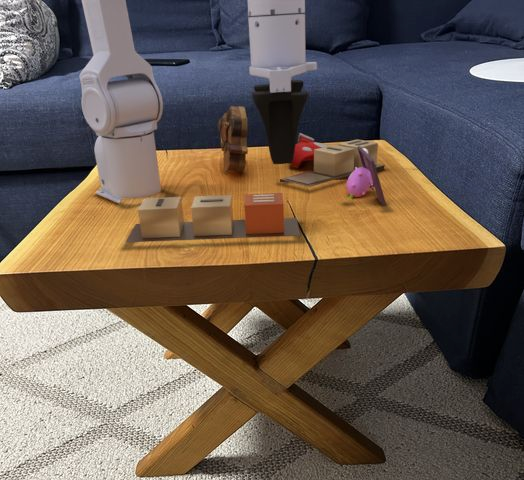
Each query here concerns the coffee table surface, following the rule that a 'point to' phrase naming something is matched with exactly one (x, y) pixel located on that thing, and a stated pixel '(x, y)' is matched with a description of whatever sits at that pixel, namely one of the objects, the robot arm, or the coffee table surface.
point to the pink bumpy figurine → (364, 178)
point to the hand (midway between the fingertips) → (281, 155)
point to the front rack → (195, 221)
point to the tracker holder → (305, 150)
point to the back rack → (336, 163)
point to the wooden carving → (234, 138)
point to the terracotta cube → (264, 213)
